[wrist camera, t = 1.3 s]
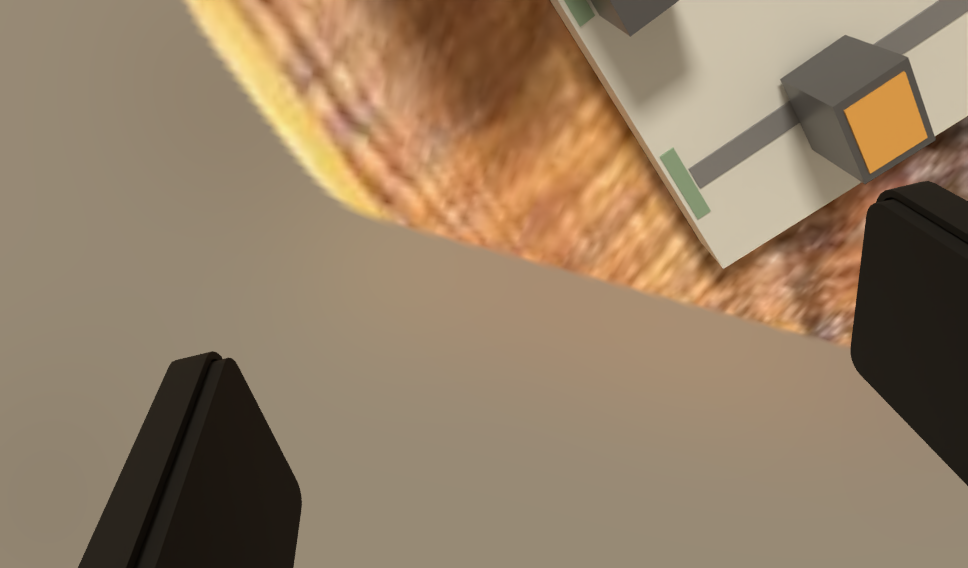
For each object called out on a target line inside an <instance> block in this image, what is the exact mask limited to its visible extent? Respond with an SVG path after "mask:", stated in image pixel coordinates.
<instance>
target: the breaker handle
mask: <svg viewBox="0 0 968 568" xmlns="http://www.w3.org/2000/svg"><path fill="white" fill-rule="evenodd" d="M678 1H679V0H591V2H592V4H593V5H594V7H595V9H596V11H597V12H598V14H599V16H601V17H602V18H604V19H605V20H607V21H608V22H610V23H611V24H613V25H614V26H616V27H617V28H618V29H620V30H621V31H623V32H624V33H626V34H627V35H629V36H630V37H631V36H632V35H633V34H635V33H636V32H637V31H639V30H640V29H641V28H643V27H644V26H646V25H647V24H648V23H650V22H651V21H652V20H654V19H655V18H656V17H658V16H659V15H660V14H662V13H663V12H664V11H666V10H667V9H668V8H670V7H671V6H672V5H674V4H675V3H676V2H678Z"/></svg>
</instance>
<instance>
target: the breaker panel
mask: <svg viewBox="0 0 968 568" xmlns="http://www.w3.org/2000/svg"><path fill="white" fill-rule="evenodd" d="M550 1H551V3H552V5H553V6H554V8H555V9H556V11H557V13H558V14H559V16H560V17H561V19H562V21H563V22H564V24H565V25H566V27H567V29H568V30H569V32H570V33H571V35H572V37H573V38H574V40H575V41H576V43H577V45H578V46H579V48H580V49H581V51H582V53H583V54H584V56H585V57H586V59H587V61H588V62H589V64H590V66H591V67H592V69H593V70H594V72H595V74H596V75H597V77H598V78H599V80H600V82H601V83H602V85H603V86H604V88H605V90H606V91H607V93H608V94H609V96H610V98H611V99H612V101H613V102H614V104H615V106H616V107H617V109H618V110H619V112H620V114H621V115H622V117H623V119H624V120H625V122H626V123H627V125H628V127H629V128H630V130H631V131H632V133H633V135H634V136H635V138H636V139H637V141H638V143H639V144H640V146H641V147H642V149H643V151H644V152H645V154H646V155H647V157H648V159H649V160H650V162H651V163H652V165H653V167H654V168H655V170H656V171H657V173H658V175H659V176H660V178H661V180H662V181H663V183H664V184H665V186H666V188H667V189H668V191H669V192H670V194H671V196H672V197H673V199H674V200H675V202H676V204H677V205H678V207H679V208H680V210H681V212H682V213H683V215H684V216H685V218H686V220H687V221H688V223H689V224H690V226H691V228H692V229H693V231H694V233H695V234H696V236H697V237H698V239H699V241H700V242H701V243H702V244H703V245H704V247H705V248H706V249H707V250H708V251H709V253H710V254H711V255H712V256H713V257H714V259H715V260H716V261H717V262H718V263H719V265H720V266H721V267H722V268H723V269H724V268H726V267H727V266H729V265H730V264H732V263H734V262H735V261H737V260H738V259H740V258H742V257H743V256H745V255H746V254H748V253H750V252H751V251H753V250H754V249H756V248H758V247H759V246H761V245H762V244H764V243H766V242H767V241H769V240H770V239H772V238H774V237H775V236H777V235H778V234H780V233H781V232H783V231H785V230H786V229H788V228H789V227H791V226H793V225H794V224H796V223H797V222H799V221H801V220H802V219H804V218H805V217H807V216H809V215H810V214H812V213H813V212H815V211H817V210H818V209H820V208H821V207H823V206H825V205H826V204H828V203H829V202H831V201H833V200H834V199H836V198H837V197H839V196H841V195H842V194H844V193H845V192H847V191H848V190H850V189H852V188H853V187H855V186H856V185H858V184H860V183H861V181H859V180H858V179H856V178H855V177H853V176H852V175H850V174H849V173H847V172H846V171H844V170H842V169H841V168H839V167H838V166H836V165H835V164H833V163H832V162H830V161H829V160H827V159H826V158H824V157H823V156H821V155H820V154H818V153H817V152H815V151H814V150H812V148H811V146H810V144H809V142H808V139H807V137H806V135H805V133H804V131H803V129H802V126H801V124H800V122H799V120H798V118H797V115H796V113H795V111H794V109H793V107H792V105H791V102H790V100H789V98H788V96H787V94H786V91H785V89H784V87H783V85H782V83H781V81H780V79H781V78H783V77H784V76H785V75H787V74H788V73H790V72H791V71H793V70H794V69H796V68H797V67H799V66H800V65H802V64H803V63H804V62H806V61H807V60H809V59H810V58H812V57H813V56H815V55H816V54H818V53H819V52H821V51H822V50H823V49H825V48H826V47H828V46H829V45H831V44H832V43H834V42H835V41H837V40H838V39H840V38H841V37H842V36H844V35H847V36H850V37H853V38H856V39H859V40H861V41H864V42H867V43H870V44H873V45H875V46H878V47H881V48H884V49H887V50H889V51H892V52H895V53H898V54H901V55H904V56H906V57H908V58H909V61H910V64H911V67H912V70H913V73H914V76H915V79H916V82H917V85H918V88H919V91H920V94H921V97H922V100H923V103H924V106H925V109H926V112H927V115H928V118H929V121H930V124H931V127H932V130H933V133H934V136H936V135H938V134H939V133H941V132H943V131H944V130H946V129H947V128H949V127H951V126H952V125H954V124H955V123H957V122H959V121H960V120H962V119H963V118H965V117H967V116H968V0H679V1H678V2H676V3H675V4H674V5H672V6H671V7H670V8H668V9H667V10H666V11H664V12H663V13H662V14H660V15H659V16H658V17H656V18H655V19H654V20H652V21H651V22H650V23H648V24H647V25H646V26H644V27H643V28H641V29H640V30H639V31H637V32H636V33H635V34H633V35H632V36H631V37H630V36H629V35H627V34H626V33H624V32H623V31H621V30H620V29H618V28H617V27H616V26H614V25H613V24H611V23H610V22H608V21H607V20H605V19H604V18H602V17H601V16H599V14H598V12H597V11H596V9H595V7H594V5H593V4H592V2H591V0H550Z"/></svg>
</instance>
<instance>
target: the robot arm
mask: <svg viewBox="0 0 968 568" xmlns="http://www.w3.org/2000/svg"><path fill="white" fill-rule="evenodd" d="M851 358H852V361H853V364H854V366H855V368H856V370H857V371H858V372H859V374H860V375H861V376H862V377H863V378H864V379H865V380H866V381H867V382H868V383H869V384H870V385H871V386H872V387H873V388H874V389H875V390H876V391H877V392H878V393H879V395H881V397H883V399H884V400H885V401H886V402H887V403H888V404H889V405H890V406H891V407H892V408H893V409H894V410H895V411H896V412H897V413H898V414H899V415H900V416H901V417H902V418H903V419H904V420H905V421H906V422H907V423H908V425H910V426H911V428H912V429H913V430H915V432H916V433H917V434H918V435H919V436H920V437H921V438H922V439H923V440H924V441H925V442H926V443H927V444H928V445H929V446H930V447H931V448H932V449H933V450H934V451H935V452H936V453H937V455H938V456H939V457H941V458H942V460H943V461H944V462H945V463H946V464H947V465H948V466H949V467H950V468H951V469H952V470H953V471H954V472H955V473H956V474H957V475H958V476H959V477H960V478H961V479H962V480H963V481H964V482H965V483H966V484H967V486H968V201H966V200H964V199H963V198H961V197H959V196H957V195H955V194H953V193H952V192H950V191H948V190H946V189H944V188H942V187H940V186H939V185H937V184H935V183H932V182H929V181H925V182H919V183H915V184H911V185H906V186H902V187H898V188H894V189H890V190H885V191H884V192H883V193H881V194H880V195H879V197H878V199H877V201H876V203H874V204H873V205H871V206H870V207H869V209H868V211H867V215H866V224H865V232H864V240H863V249H862V257H861V266H860V274H859V282H858V291H857V299H856V307H855V316H854V324H853V332H852V341H851ZM301 506H302V501H301V493H300V488H299V485H298V482H297V480H296V478H295V476H294V474H293V473H292V470H291V469H290V466H289V465H288V463H287V461H286V459H285V457H284V455H283V453H282V451H281V449H280V447H279V445H278V443H277V441H276V439H275V437H274V435H273V433H272V431H271V429H270V428H269V425H268V424H267V422H266V420H265V418H264V416H263V414H262V412H261V410H260V408H259V406H258V404H257V402H256V400H255V398H254V396H253V394H252V392H251V390H250V388H249V386H248V385H247V383H246V381H245V379H244V377H243V375H242V373H241V371H240V369H239V367H238V366H237V364H236V362H235V361H234V360H233V359H232V358H226V359H222V357H221V356H220V355H219V354H218V353H216V352H208V353H204V354H200V355H196V356H191V357H187V358H183V359H179V360H175V361H173V362H172V363H171V364H170V366H169V368H168V370H167V372H166V374H165V376H164V379H163V381H162V383H161V386H160V388H159V390H158V392H157V394H156V396H155V399H154V401H153V403H152V405H151V407H150V410H149V412H148V414H147V416H146V419H145V421H144V423H143V425H142V427H141V429H140V432H139V434H138V436H137V439H136V441H135V443H134V445H133V447H132V449H131V452H130V454H129V456H128V458H127V460H126V463H125V465H124V467H123V469H122V471H121V474H120V476H119V478H118V481H117V482H116V485H115V487H114V489H113V491H112V494H111V496H110V498H109V500H108V503H107V505H106V507H105V509H104V511H103V513H102V516H101V518H100V520H99V522H98V525H97V527H96V529H95V531H94V533H93V535H92V538H91V540H90V542H89V544H88V547H87V549H86V551H85V553H84V555H83V558H82V560H81V562H80V564H79V566H78V568H293V566H294V559H295V550H296V544H297V537H298V530H299V522H300V515H301Z"/></svg>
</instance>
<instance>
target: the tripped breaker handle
mask: <svg viewBox="0 0 968 568" xmlns="http://www.w3.org/2000/svg"><path fill="white" fill-rule="evenodd" d="M780 81H781V83H782V85H783V87H784V89H785V91H786V94H787V96H788V98H789V100H790V102H791V105H792V107H793V109H794V111H795V113H796V115H797V118H798V120H799V122H800V124H801V126H802V129H803V131H804V133H805V135H806V137H807V139H808V142H809V144H810V146H811V148H812V150H814V151H815V152H817V153H818V154H820V155H821V156H823V157H824V158H826V159H827V160H829V161H830V162H832V163H833V164H835V165H836V166H838V167H839V168H841V169H842V170H844V171H846V172H847V173H849V174H850V175H852V176H853V177H855V178H856V179H858V180H859V181H861V182H862V183H864V184H866V183H868V182H869V181H871V180H873V179H874V178H876V177H877V176H879V175H881V174H882V173H884V172H885V171H887V170H889V169H890V168H892V167H893V166H895V165H897V164H898V163H900V162H901V161H903V160H905V159H906V158H908V157H909V156H911V155H913V154H914V153H916V152H917V151H919V150H921V149H922V148H924V147H925V146H927V145H929V144H930V143H932V142H933V141H935V140H936V139H935V136H934V133H933V130H932V127H931V124H930V121H929V118H928V115H927V112H926V109H925V106H924V103H923V100H922V97H921V94H920V91H919V88H918V85H917V82H916V79H915V76H914V73H913V70H912V67H911V64H910V61H909V58H908V57H906V56H904V55H901V54H898V53H895V52H892V51H889V50H887V49H884V48H881V47H878V46H875V45H873V44H870V43H867V42H864V41H861V40H859V39H856V38H853V37H850V36H847V35H844V36H842V37H841V38H840V39H838V40H837V41H835V42H834V43H832V44H831V45H829V46H828V47H826V48H825V49H823V50H822V51H821V52H819V53H818V54H816V55H815V56H813V57H812V58H810V59H809V60H807V61H806V62H804V63H803V64H802V65H800V66H799V67H797V68H796V69H794V70H793V71H791V72H790V73H788V74H787V75H785V76H784V77H783V78H781V79H780Z"/></svg>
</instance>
